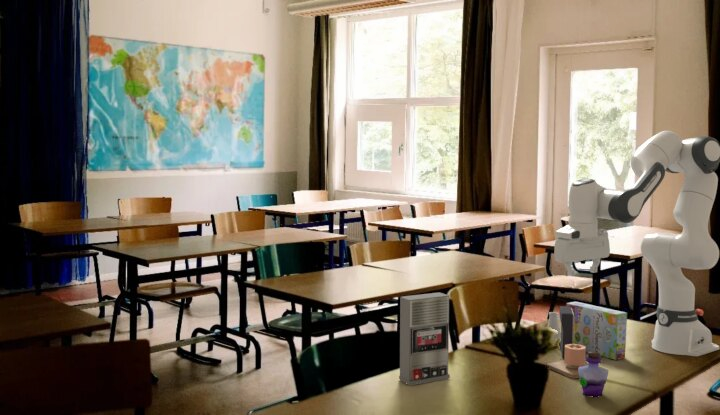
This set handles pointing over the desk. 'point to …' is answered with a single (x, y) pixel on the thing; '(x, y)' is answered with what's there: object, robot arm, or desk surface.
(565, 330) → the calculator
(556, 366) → the stand
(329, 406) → the desk surface
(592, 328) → the snack box
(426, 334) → the cassette tape recorder
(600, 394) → the potion bottle
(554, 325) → the flask
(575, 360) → the pink cylinder
